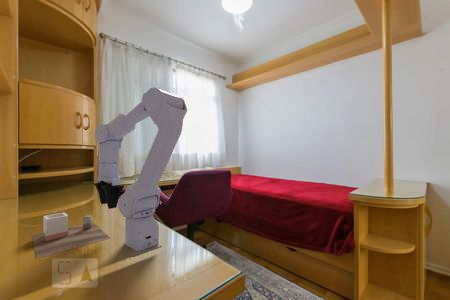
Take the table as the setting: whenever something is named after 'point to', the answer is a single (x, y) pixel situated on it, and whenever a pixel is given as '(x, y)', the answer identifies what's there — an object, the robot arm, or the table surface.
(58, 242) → the pin board
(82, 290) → the table surface
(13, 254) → the table surface
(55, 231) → the sleeve
